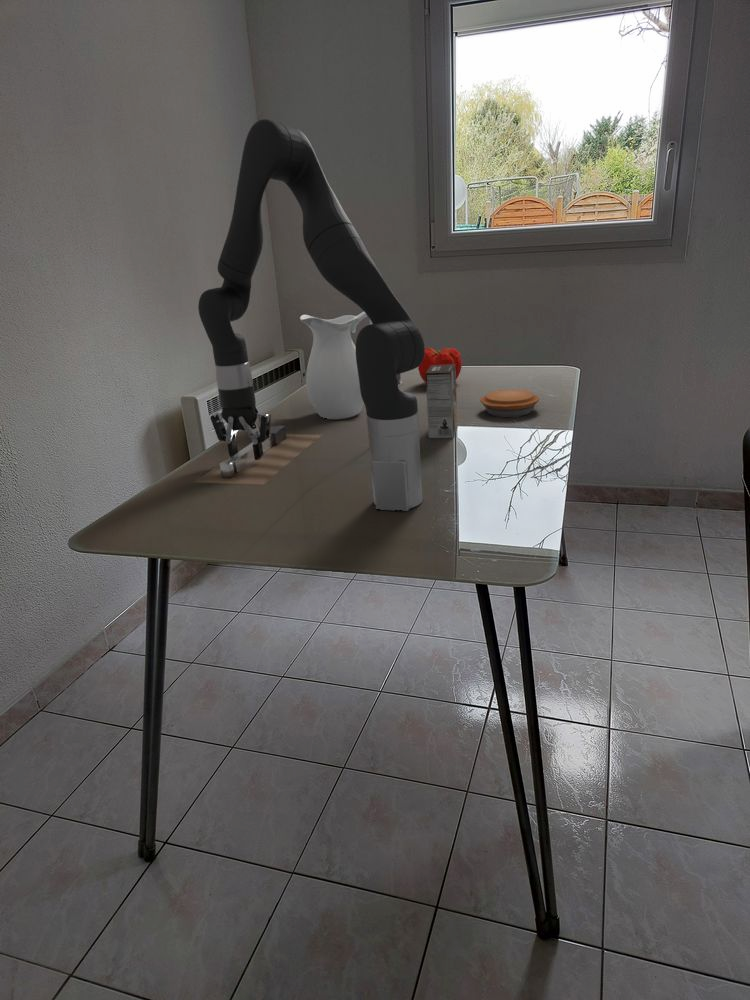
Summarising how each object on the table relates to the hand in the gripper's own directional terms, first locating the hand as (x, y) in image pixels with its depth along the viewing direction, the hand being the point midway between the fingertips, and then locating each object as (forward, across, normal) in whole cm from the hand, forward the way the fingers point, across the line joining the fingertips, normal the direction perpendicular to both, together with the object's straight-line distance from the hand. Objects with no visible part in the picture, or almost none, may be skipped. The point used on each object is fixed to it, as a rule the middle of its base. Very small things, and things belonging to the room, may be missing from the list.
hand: (246, 458), depth 150 cm
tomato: (+3, +28, +81) cm, 86 cm away
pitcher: (+3, +9, +47) cm, 48 cm away
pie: (+3, +53, +49) cm, 72 cm away
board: (+2, +2, +4) cm, 5 cm away
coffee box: (+3, +39, +29) cm, 49 cm away
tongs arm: (+1, +1, +6) cm, 6 cm away
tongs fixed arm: (+1, 0, +4) cm, 4 cm away
